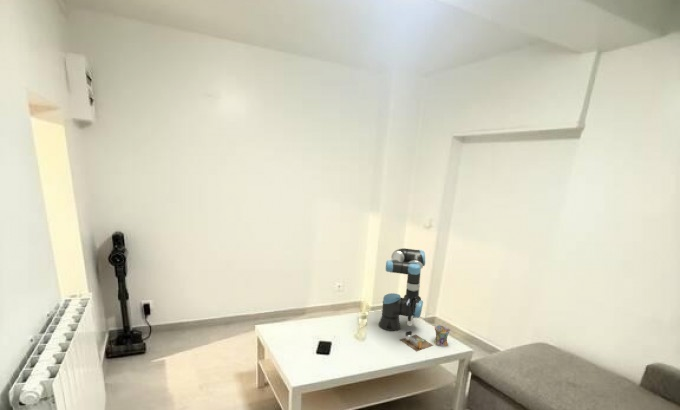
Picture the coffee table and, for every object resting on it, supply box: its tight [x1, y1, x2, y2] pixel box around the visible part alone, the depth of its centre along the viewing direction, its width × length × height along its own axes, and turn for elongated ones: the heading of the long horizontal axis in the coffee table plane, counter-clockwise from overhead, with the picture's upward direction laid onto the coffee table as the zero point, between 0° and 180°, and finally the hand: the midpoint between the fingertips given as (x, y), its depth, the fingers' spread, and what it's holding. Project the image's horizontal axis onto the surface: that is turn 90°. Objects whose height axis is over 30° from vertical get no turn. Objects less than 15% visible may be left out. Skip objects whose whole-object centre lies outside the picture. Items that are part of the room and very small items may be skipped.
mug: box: [433, 325, 451, 348], centre depth 202 cm, size 12×9×11 cm
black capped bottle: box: [404, 330, 422, 349], centre depth 198 cm, size 12×4×6 cm, turn 33°
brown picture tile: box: [399, 334, 434, 352], centre depth 200 cm, size 15×15×1 cm
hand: (409, 325), depth 201 cm, fingers closed
